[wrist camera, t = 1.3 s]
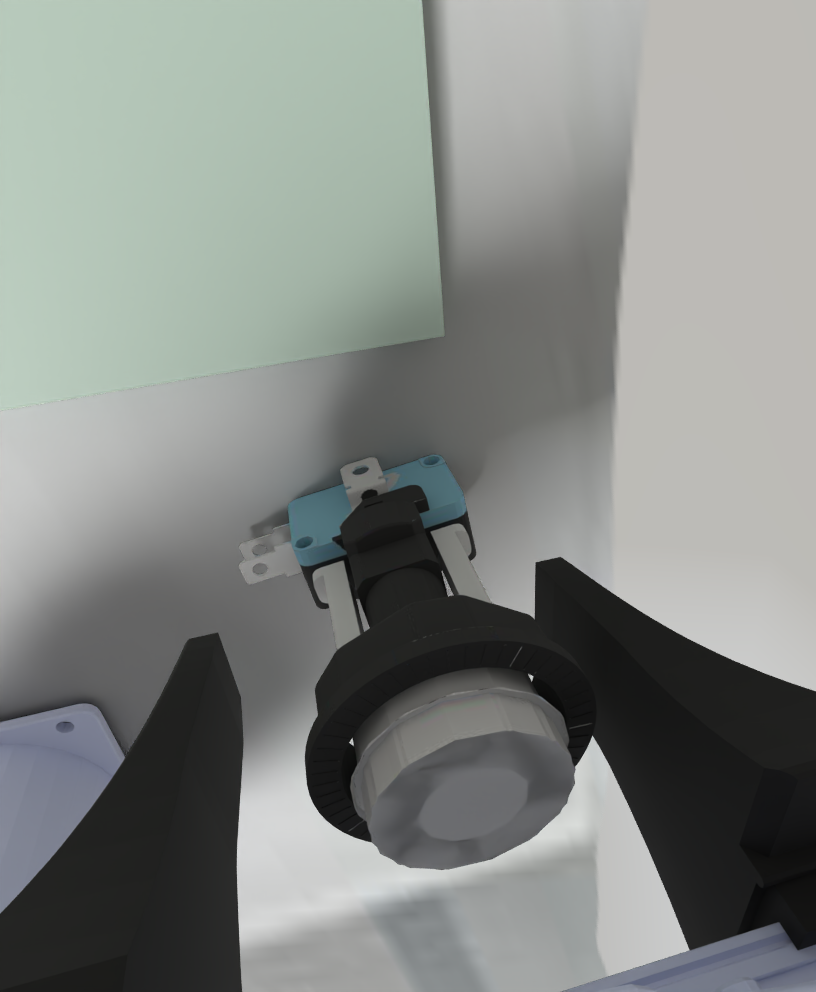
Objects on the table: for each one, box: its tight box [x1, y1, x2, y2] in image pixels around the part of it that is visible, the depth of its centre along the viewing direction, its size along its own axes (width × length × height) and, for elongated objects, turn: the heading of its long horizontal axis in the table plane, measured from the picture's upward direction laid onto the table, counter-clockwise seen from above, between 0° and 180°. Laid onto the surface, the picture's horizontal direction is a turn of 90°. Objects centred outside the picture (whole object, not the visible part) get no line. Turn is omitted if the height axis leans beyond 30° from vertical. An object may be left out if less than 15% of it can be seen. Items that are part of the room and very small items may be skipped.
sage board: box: [0, 0, 445, 411], centre depth 12 cm, size 12×12×1 cm
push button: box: [239, 455, 597, 870], centre depth 14 cm, size 7×5×10 cm
